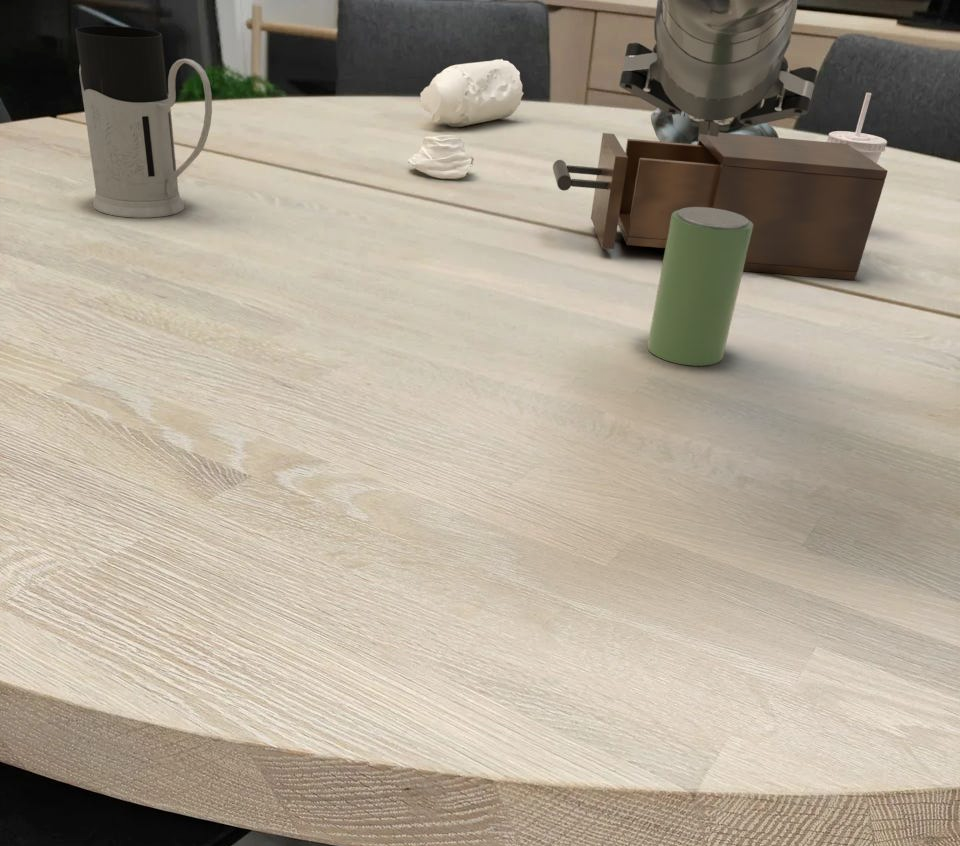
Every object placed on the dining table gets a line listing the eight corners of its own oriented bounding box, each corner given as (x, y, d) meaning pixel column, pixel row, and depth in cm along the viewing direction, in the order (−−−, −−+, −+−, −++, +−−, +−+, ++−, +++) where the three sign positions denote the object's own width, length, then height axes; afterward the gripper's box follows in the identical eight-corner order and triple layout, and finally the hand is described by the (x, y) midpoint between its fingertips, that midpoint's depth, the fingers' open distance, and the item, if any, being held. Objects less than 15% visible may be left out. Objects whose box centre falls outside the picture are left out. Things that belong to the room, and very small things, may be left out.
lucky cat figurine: (693, 194, 123) (665, 73, 119) (656, 210, 135) (628, 101, 130) (800, 157, 125) (776, 38, 121) (754, 176, 137) (730, 68, 132)
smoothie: (796, 227, 114) (832, 90, 106) (815, 218, 119) (850, 85, 110) (850, 239, 112) (891, 100, 103) (867, 229, 116) (908, 95, 108)
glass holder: (135, 190, 104) (115, 22, 95) (246, 216, 100) (236, 43, 91) (73, 205, 98) (45, 27, 89) (189, 234, 93) (173, 50, 84)
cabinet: (700, 267, 98) (724, 156, 92) (679, 232, 108) (699, 130, 102) (855, 280, 99) (888, 170, 93) (819, 244, 109) (847, 143, 103)
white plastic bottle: (406, 126, 144) (407, 64, 139) (477, 113, 157) (481, 55, 152) (451, 136, 141) (454, 72, 136) (520, 122, 154) (525, 63, 149)
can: (714, 340, 81) (744, 209, 75) (729, 368, 77) (763, 230, 70) (642, 335, 81) (666, 202, 75) (653, 362, 76) (679, 223, 70)
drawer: (552, 244, 97) (563, 151, 92) (545, 214, 106) (555, 128, 101) (746, 260, 98) (768, 169, 93) (723, 229, 107) (741, 145, 102)
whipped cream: (407, 184, 119) (406, 141, 116) (409, 166, 124) (407, 124, 121) (474, 184, 120) (474, 141, 116) (472, 167, 125) (473, 124, 121)
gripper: (860, -33, 54) (815, 78, 71) (623, -63, 56) (633, 52, 73) (824, 114, 56) (788, 189, 73) (594, 80, 58) (611, 161, 75)
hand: (710, 120), depth 73 cm, fingers closed
